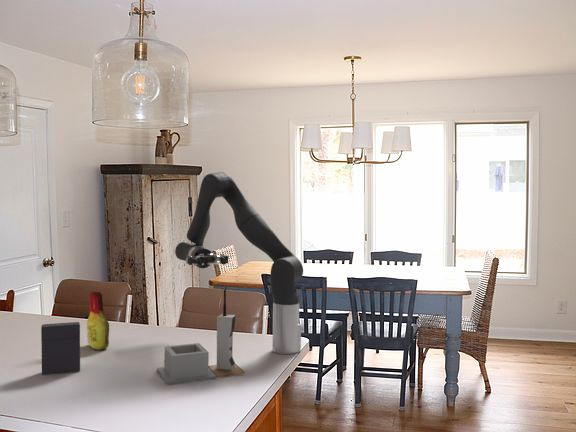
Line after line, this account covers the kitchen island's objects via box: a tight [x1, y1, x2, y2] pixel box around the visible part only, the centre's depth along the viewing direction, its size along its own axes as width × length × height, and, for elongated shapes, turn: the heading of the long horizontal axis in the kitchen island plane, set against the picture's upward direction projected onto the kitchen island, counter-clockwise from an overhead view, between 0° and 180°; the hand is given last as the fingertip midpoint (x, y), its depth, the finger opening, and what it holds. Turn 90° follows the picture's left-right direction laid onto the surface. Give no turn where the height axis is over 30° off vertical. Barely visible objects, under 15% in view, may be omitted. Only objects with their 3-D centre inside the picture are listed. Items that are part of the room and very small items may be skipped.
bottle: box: [86, 291, 110, 351], centre depth 205 cm, size 12×6×20 cm, turn 39°
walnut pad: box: [208, 362, 246, 379], centre depth 181 cm, size 9×10×1 cm
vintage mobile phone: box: [216, 289, 236, 370], centre depth 181 cm, size 4×5×25 cm
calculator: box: [40, 321, 81, 376], centre depth 178 cm, size 11×4×15 cm, turn 111°
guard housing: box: [156, 342, 217, 386], centre depth 177 cm, size 15×14×8 cm
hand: (213, 262), depth 198 cm, fingers open, 8 cm apart
